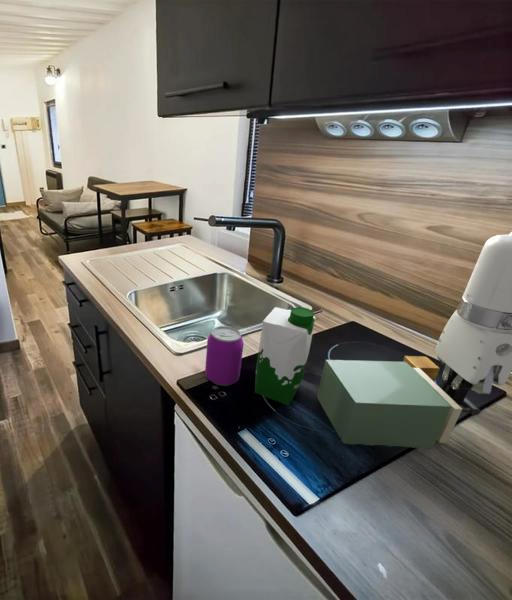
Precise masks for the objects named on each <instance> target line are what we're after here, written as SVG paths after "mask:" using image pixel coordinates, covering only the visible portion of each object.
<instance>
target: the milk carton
mask: <svg viewBox="0 0 512 600" xmlns="http://www.w3.org/2000/svg"><path fill="white" fill-rule="evenodd" d="M316 318H317V317H316V316H315V313H314V311H313V310H312V309H310V308H307V307H301V306H300V307H299V306H297V307H293V308H292V309H285V308H281V307H276V306H275V307H274V308H273V309H272V310H271V311H270V313H268V315H267V316H265V318H264V319H263V320H262V324H261V325H262V326H261V331H260V337H259V345H258V352H257V360H256V367H255V379H254V381H255V382H254V394H258V395H260V396H262V397H265V398H268V399H270V400H273V401H275V402H278V403H281V404H283V405H285V406H287V407H288V406H290V405H291V403H292V401H293V400H294V397H295V396H296V393H297V392H298V390H299V387H300V386H301V383H302V382H303V379H304V376H305V372H306V368H307V363H308V357H309V354H310V349H311V344H312V339H313V333H314V328H315V322H316Z"/></svg>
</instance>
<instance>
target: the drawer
mask: <svg viewBox="0 0 512 600" xmlns="http://www.w3.org/2000/svg"><path fill="white" fill-rule="evenodd" d="M413 369H414V370H415V371H416V372H417V373H418V374H419V375H420V376H421V377H422V378H423V379H424V380H425V381H426V382H427V383H428V384H429V385H430V386H431V387H432V388H433V389H434V390H435V391H436V392H437V393H438V394H439V395H440V396H441V397H442V398H443V399H444V400H445V401H446V402H447V403H448V404H449V405H450V406H451V409H450V411H449V413H448V415H447V418H446V420H445V422H444V424H443V426H442V429H441V431H440V433H439V435H438V438H437V440H436V442H438V443H439V444H447V443H448V441H449V438H450V436H451V435H452V432H453V430H454V428H455V426H456V424H457V421H458V419H459V417H460V416H461V414H462V413H470V415H473V416H478V415H480V414H481V412H482V411H481V409H480V408H478V406H476V405H475V403H473V402H472V401H471V400H469V398H467V396H466V397H465V399H464V401H463V403H462V404H461V405H458V404H457V403H456V402H455V401H454V400H452V399H451V398H450V397H449V396H448V395H447V394H446V393H445V392H444V391H443V390H442V389H441V386H439V385H438V384H437V383H436V382H435V381H433V380H431V379H430V378H429V377H428V376H427V375H426V374H425V373H424V372H423V371H422V370H421V369H420V368H413ZM461 406H462V407H461Z"/></svg>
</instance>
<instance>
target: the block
mask: <svg viewBox="0 0 512 600" xmlns="http://www.w3.org/2000/svg"><path fill="white" fill-rule="evenodd" d="M402 362H406V363H408V364H409V365H410V366H411V367H412V368H420V369H421V370H422V371H423V372H424V373H425V374H426V375H427V376H428V377H429V378H430V379H431V380H433V381H434V382H435V381H436V378H437V376H438V374H439V372H440V369H441V368H440V367H439V366H438V365H436V363H434V362H433V361H432V360H431V359H430V358H428V357H427V356H423V355H422V356H420V355H419V356H418V355H404V357H403V359H402Z"/></svg>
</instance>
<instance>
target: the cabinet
mask: <svg viewBox="0 0 512 600" xmlns="http://www.w3.org/2000/svg"><path fill="white" fill-rule="evenodd" d="M316 398H317V400H318V402H319V404H320V405H321V407H322V409H323V411H324V412H325V414H326V416H327V417H328V420H329V421H330V423H331V425H332V427H333V428H334V430H335V432H336V434H337V436H338V438H339V439H340V438H341V439H340V441H341V443H342V442H343V443H345V444H344V445H356V444H364V445H363V446H374V445H388V446H387V447H392V446H403V447H402V448H410V447H411V449H413V448H414V449H430V450H431V449H433V448H434V446H435V444H436V442H437V438H438V435H439V433H440V431H441V429H442V426H443V424H444V422H445V420H446V418H447V415H448V413H449V411H450V409H451V406H450V405H449V404H448V403H447V402H446V401H445V400H444V399H443V398H442V397H441V396H440V395H439V394H438V393H437V392H436V391H435V390H434V389H433V388H432V387H431V386H430V385H429V384H428V383H427V382H426V381H425V380H424V379H423V378H422V377H421V376H420V375H419V374H418V373H417V372H416V371H415V370H414V369H413V368H412V367H411V366H410V365H409V364H408V363H406V362H403V361H394V360H393V361H392V360H391V361H390V360H389V361H388V360H386V361H385V360H355V359H354V360H351V359H350V360H349V359H347V360H346V359H325V362H324V366H323V370H322V375H321V378H320V383H319V387H318V391H317V395H316ZM343 443H342V444H343ZM346 443H347V444H346ZM389 445H391V446H389Z"/></svg>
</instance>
